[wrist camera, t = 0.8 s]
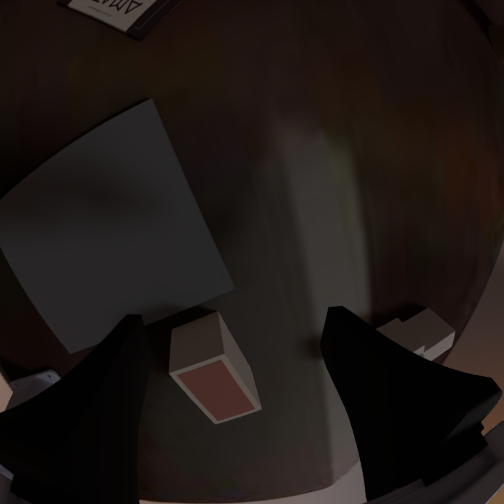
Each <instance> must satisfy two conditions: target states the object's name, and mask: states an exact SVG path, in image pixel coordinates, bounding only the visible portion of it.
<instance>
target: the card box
mask: <svg viewBox="0 0 504 504" xmlns="http://www.w3.org/2000/svg"><path fill="white" fill-rule="evenodd" d="M169 374H170V375H171V376H172V378H173V379H174V380H175V381H176V382H177V383H178V385H179V386H180V387H181V388H182V389H183V390H184V391H185V392H186V394H187V395H188V396H189V397H190V398H191V399H192V400H193V401H194V402H195V403H196V405H197V406H198V407H199V408H200V409H201V410H202V411H203V412H204V413H205V414H206V415H207V416H208V417H209V418H210V419H211V420H212V421H213V422H214V423H215V424H218V423H221V422H224V421H228V420H231V419H234V418H237V417H240V416H243V415H246V414H249V413H252V412H255V411H258V410H261V409H262V408H261V404H260V401H259V397H258V393H257V390H256V386H255V383H254V379H253V375H252V371H251V368H250V366H249V364H248V363H247V361H246V359H245V358H244V356H243V354H242V353H241V351H240V349H239V347H238V346H237V344H236V342H235V340H234V339H233V337H232V335H231V333H230V332H229V330H228V328H227V326H226V325H225V323H224V321H223V319H222V317H221V316H220V314H219V312H218V311H217V312H214V313H212V314H209V315H207V316H204V317H202V318H199V319H197V320H194V321H192V322H189V323H187V324H184V325H182V326H179V327H177V328H174V329H172V335H171V348H170V362H169Z"/></svg>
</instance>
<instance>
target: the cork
mask: <svg viewBox="0 0 504 504" xmlns="http://www.w3.org/2000/svg"><path fill="white" fill-rule="evenodd" d="M488 33H489V38H490V41H491V44H492V46H493V49H494V51H495V53H496V55H497V56H498V58H499V60H500V61H501V62H502V63H503V64H504V26H502V25H490V26H489V28H488Z"/></svg>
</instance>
